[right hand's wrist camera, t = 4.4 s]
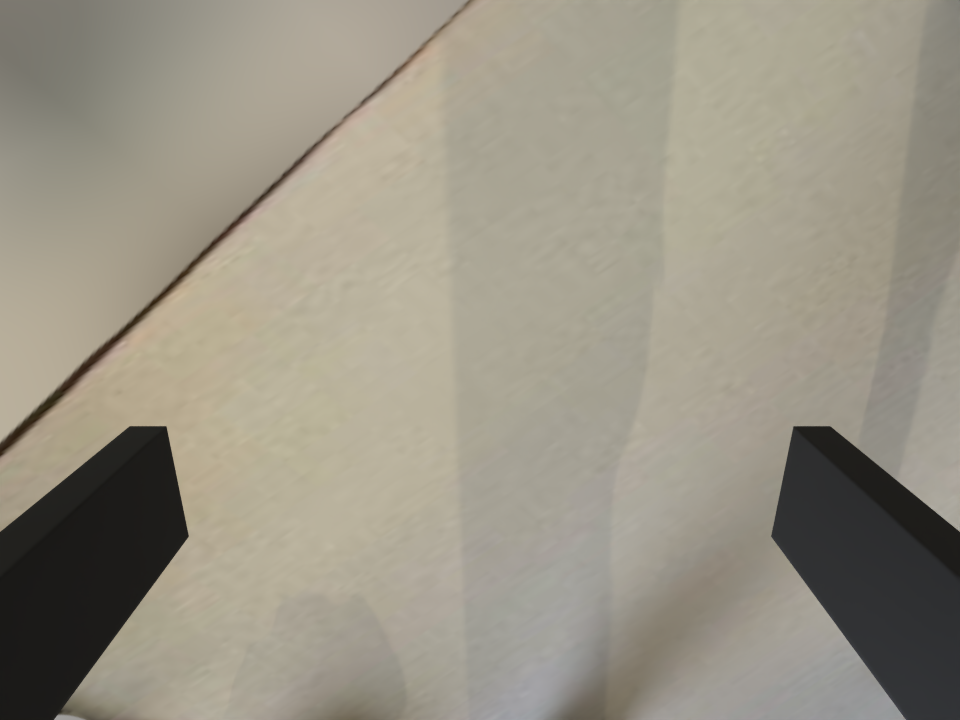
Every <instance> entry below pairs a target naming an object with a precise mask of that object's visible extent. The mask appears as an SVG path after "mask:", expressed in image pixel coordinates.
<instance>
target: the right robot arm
mask: <svg viewBox="0 0 960 720" xmlns="http://www.w3.org/2000/svg"><path fill="white" fill-rule="evenodd" d="M188 537H189V535H188V530H187V526H186V521H185V516H184V511H183V506H182V501H181V496H180V491H179V486H178V481H177V476H176V471H175V466H174V462H173V457H172V452H171V447H170V442H169V437H168V432H167V427H166V426H130V427H128V428H127V429H126V430H125V431H124V432H122V433H121V434H120V435H119V436H117V437H116V438H115V439H114V440H112V441H111V442H110V443H109V444H108V445H106V446H105V447H104V448H103V449H101V450H100V451H99V452H98V453H97V454H95V455H94V456H93V457H92V458H90V459H89V460H88V461H87V462H85V463H84V464H83V465H82V466H81V467H79V468H78V469H77V470H76V471H74V472H73V473H72V474H71V475H70V476H68V477H67V478H66V479H65V480H63V481H62V482H61V483H60V484H59V485H57V486H56V487H55V488H54V489H52V490H51V491H50V492H49V493H47V494H46V495H45V496H44V497H43V498H41V499H40V500H39V501H38V502H36V503H35V504H34V505H33V506H32V507H30V508H29V509H28V510H27V511H25V512H24V513H23V514H22V515H20V516H19V517H18V518H17V519H16V520H14V521H13V522H12V523H11V524H9V525H8V526H7V527H6V528H5V529H3V530H2V531H1V532H0V720H54V719H55V717H56V716H57V715H58V713H59V712H60V711H61V709H62V708H63V707H64V705H65V704H66V702H67V701H68V700H69V698H70V697H71V696H72V694H73V693H74V692H75V690H76V689H77V688H78V686H79V685H80V683H81V682H82V681H83V679H84V678H85V677H86V675H87V674H88V673H89V671H90V670H91V669H92V667H93V666H94V664H95V663H96V662H97V660H98V659H99V658H100V656H101V655H102V654H103V652H104V651H105V650H106V648H107V647H108V645H109V644H110V643H111V641H112V640H113V639H114V637H115V636H116V635H117V633H118V632H119V630H120V629H121V628H122V626H123V625H124V624H125V622H126V621H127V620H128V618H129V617H130V616H131V614H132V613H133V611H134V610H135V609H136V607H137V606H138V605H139V603H140V602H141V601H142V599H143V598H144V597H145V595H146V594H147V592H148V591H149V590H150V588H151V587H152V586H153V584H154V583H155V582H156V580H157V579H158V578H159V576H160V575H161V573H162V572H163V571H164V569H165V568H166V567H167V565H168V564H169V563H170V561H171V560H172V559H173V557H174V556H175V554H176V553H177V552H178V550H179V549H180V548H181V546H182V545H183V544H184V542H185V541H186V539H187V538H188ZM771 537H772V538H773V539H774V541H775V542H776V544H777V545H778V546H779V548H780V549H781V550H782V552H783V553H784V554H785V556H786V557H787V559H788V560H789V561H790V563H791V564H792V565H793V567H794V568H795V569H796V571H797V572H798V573H799V575H800V576H801V578H802V579H803V580H804V582H805V583H806V584H807V586H808V587H809V588H810V590H811V591H812V592H813V594H814V595H815V597H816V598H817V599H818V601H819V602H820V603H821V605H822V606H823V607H824V609H825V610H826V611H827V613H828V614H829V616H830V617H831V618H832V620H833V621H834V622H835V624H836V625H837V626H838V628H839V629H840V630H841V632H842V633H843V635H844V636H845V637H846V639H847V640H848V641H849V643H850V644H851V645H852V647H853V648H854V650H855V651H856V652H857V654H858V655H859V656H860V658H861V659H862V660H863V662H864V663H865V664H866V666H867V667H868V669H869V670H870V671H871V673H872V674H873V675H874V677H875V678H876V679H877V681H878V682H879V683H880V685H881V686H882V688H883V689H884V690H885V692H886V693H887V694H888V696H889V697H890V698H891V700H892V701H893V702H894V704H895V705H896V707H897V708H898V709H899V711H900V712H901V713H902V715H903V716H904V717H905V719H906V720H960V532H959V531H958V530H957V529H955V528H954V527H953V526H952V525H951V524H949V523H948V522H947V521H946V520H944V519H943V518H942V517H941V516H940V515H938V514H937V513H936V512H935V511H933V510H932V509H931V508H930V507H928V506H927V505H926V504H925V503H924V502H922V501H921V500H920V499H919V498H917V497H916V496H915V495H914V494H913V493H911V492H910V491H909V490H908V489H906V488H905V487H904V486H903V485H901V484H900V483H899V482H898V481H897V480H895V479H894V478H893V477H892V476H890V475H889V474H888V473H887V472H886V471H884V470H883V469H882V468H881V467H879V466H878V465H877V464H876V463H875V462H873V461H872V460H871V459H870V458H868V457H867V456H866V455H865V454H863V453H862V452H861V451H860V450H859V449H857V448H856V447H855V446H854V445H852V444H851V443H850V442H849V441H848V440H846V439H845V438H844V437H843V436H841V435H840V434H839V433H838V432H836V431H835V430H834V429H833V428H832V427H830V426H794V427H793V432H792V437H791V442H790V447H789V452H788V457H787V461H786V466H785V471H784V476H783V481H782V486H781V491H780V496H779V501H778V506H777V511H776V516H775V521H774V526H773V530H772V535H771Z"/></svg>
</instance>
